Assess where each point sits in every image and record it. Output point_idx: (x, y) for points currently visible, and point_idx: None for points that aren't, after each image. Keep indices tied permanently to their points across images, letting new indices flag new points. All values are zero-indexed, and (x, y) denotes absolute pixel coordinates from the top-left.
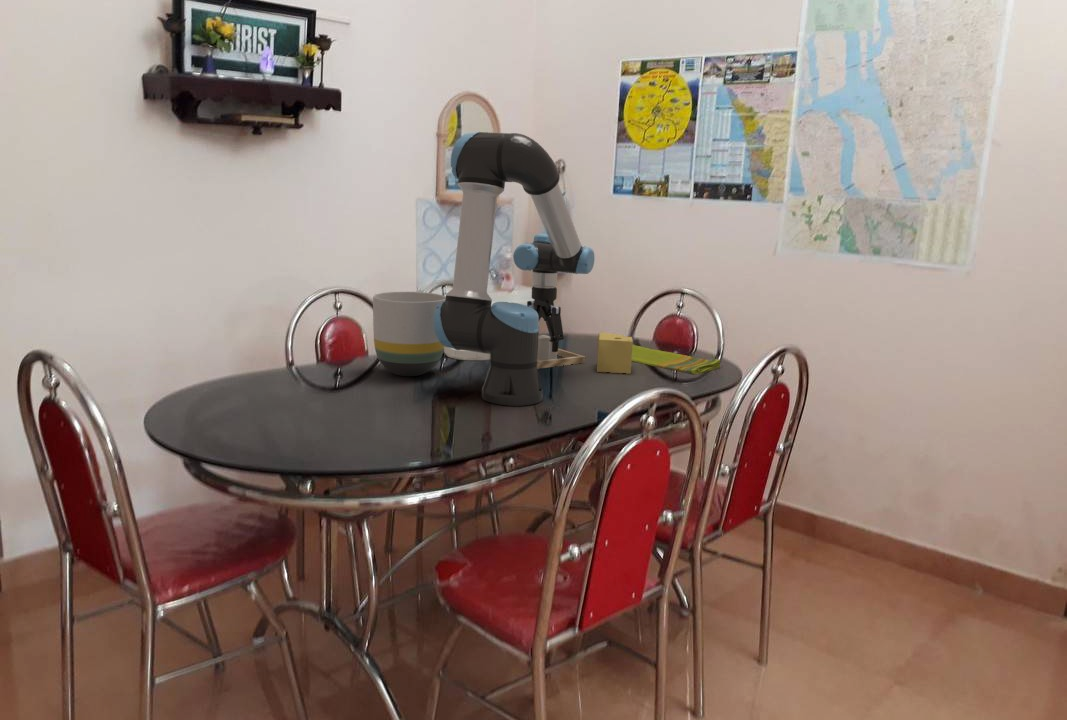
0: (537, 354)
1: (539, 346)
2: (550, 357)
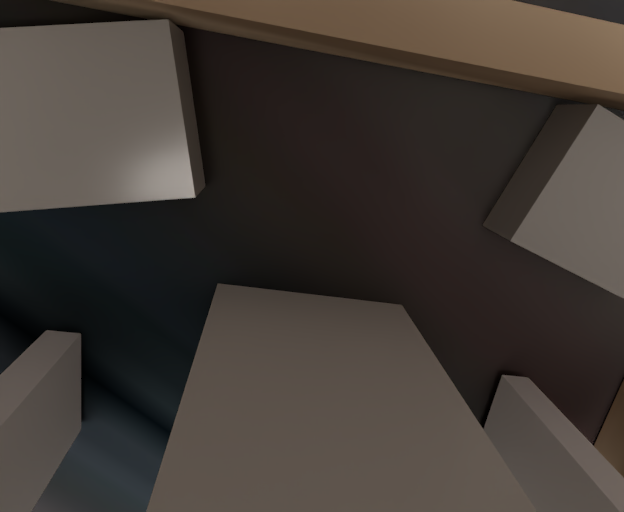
0: (230, 328)
1: (173, 431)
2: (6, 380)
